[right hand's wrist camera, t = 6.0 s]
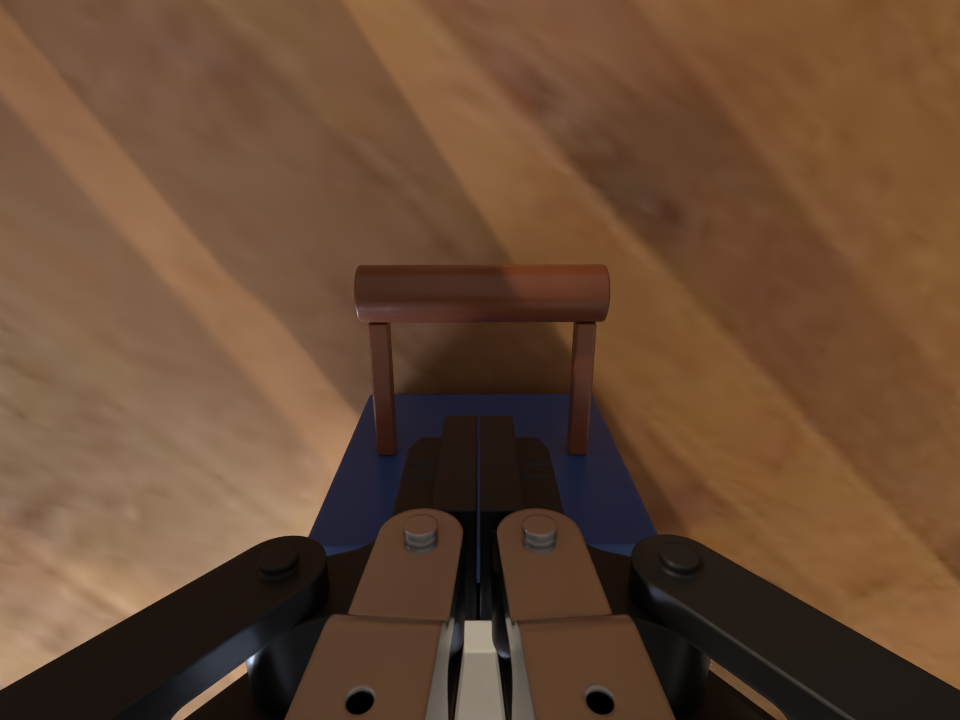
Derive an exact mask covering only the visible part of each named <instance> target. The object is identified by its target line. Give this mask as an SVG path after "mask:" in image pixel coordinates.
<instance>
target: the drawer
mask: <svg viewBox="0 0 960 720" xmlns="http://www.w3.org/2000/svg"><path fill="white" fill-rule="evenodd" d="M354 301H355V309H356V314H357V317H358V319H359V321H360V322H362V323H369V324H368V339H369V352H370V365H371V378H372V391H373V395H370V397H369V399H368V401H367V404H366V406H365V408H364V411H363V413H362V415H361V417H360V420H359V422H358V424H357V427H356V429H355V431H354V433H353V436H352V438H351V440H350V443H349V445H348V447H347V450H346V452H345V454H344V456H343V459H342V461H341V463H340V466H339V468H338V470H337V472H336V475H335V477H334V479H333V482H332V484H331V486H330V488H329V491H328V493H327V495H326V498H325V500H324V502H323V504H322V507H321V509H320V511H319V514H318V516H317V518H316V521H315V523H314V525H313V527H312V530H311V532H310V534H309V537H308V538H311V539H313V540H315V541H317V542H319V543H320V544H321V545H322V546H323V548H324V549H325V552H326V556H330V555H334V554H339V553H343V552H348V551H351V550H355V549H358V548H361V547H363V546H365V545H367V544H369V543H371V542H373V541H374V540H376V538H377V536H378V533H379V531H380V529H381V527H382V526H383V524H384V523H385V522H386V521H388V520H389V519H390V518H392V514H393V509H394V505H395V501H396V497H397V493H398V489H399V485H400V481H401V477H402V472H403V468H404V466H405V460H406V456H407V452H408V449H409V448H410V447H411V446H412V445H413V444H414V443H415V442H416V441H417V440H418V439H419V438H420V437H442V432H443V425H444V417H445V416H477V600H476V620H465V621H480V416H513V424H514V432H515V437H537V438H538V439H539V440H540V441H541V442H542V443H543V444H544V445H545V446H546V447H547V448H548V449H549V452H550V456H551V460H552V466H553V469H554V473H555V478H556V482H557V486H558V491H559V495H560V499H561V503H562V508H563V512H564V515H565V516H567V517H568V518H570V519H571V520H572V521H574V522H575V523H576V525H577V526H578V527H579V529H580V531H581V533H582V536H583V538H584V541H585V543H586V544H588V545H590V546H592V547H595V548H598V549H600V550H604V551H608V552H612V553H616V554H621V555H625V556H630V557H631V555H632V550H633V548H634V546H635V545H636V544H637V543H638V542H639V541H640V540H642V539H644V538H646V537H650V536H654V535H658V534H657V532H656V530H655V528H654V525H653V523H652V521H651V519H650V517H649V515H648V513H647V510H646V508H645V506H644V504H643V502H642V500H641V498H640V496H639V493H638V491H637V489H636V487H635V485H634V483H633V481H632V478H631V476H630V474H629V472H628V470H627V468H626V466H625V463H624V461H623V459H622V457H621V455H620V453H619V451H618V449H617V446H616V444H615V442H614V440H613V438H612V436H611V434H610V431H609V429H608V427H607V425H606V423H605V421H604V419H603V416H602V414H601V412H600V410H599V408H598V406H597V404H596V401H595V399H594V397H593V395H592V394H591V392H592V378H593V365H594V352H595V338H596V323H595V322H603V321H604V320H605V319H606V316H607V313H608V309H609V302H610V279H609V273H608V270H607V267H606V266H605V265H360V266H358V268H357V270H356V274H355V280H354ZM405 322H574V327H573V344H572V360H571V377H570V394H394V379H393V363H392V347H391V330H390V323H405Z"/></svg>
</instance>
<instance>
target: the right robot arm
mask: <svg viewBox="0 0 960 720" xmlns="http://www.w3.org/2000/svg"><path fill="white" fill-rule="evenodd" d="M476 600H477V416H445V417H444V425H443V432H442V437H420V438H419V439H418V440H417V441H416V442H415V443H414V444H413V445H412V446H411V447H410V448H409V449H408V452H407V456H406V460H405V466H404V468H403V472H402V477H401V481H400V485H399V489H398V493H397V497H396V501H395V505H394V509H393V514H392V518H390V519H389V520H388V521H386V522H385V523H384V524H383V526H382V527H381V529H380V531H379V533H378V536H377V538H376V540H374V541H373V542H371V543H369V544H367V545H365V546H363V547H361V548H358V549H355V550H351V551H348V552H343V553H339V554H334V555H330V556H326V552H325V549H324V548H323V546H322V545H321V544H320V543H319V542H317V541H315V540H313V539H311V538H308V537H303V536H283V537H278V538H274V539H270V540H267V541H265V542H262V543H260V544H258V545H256V546H254V547H252V548H250V549H249V550H247V551H245V552H243V553H242V554H240V555H238V556H236V557H235V558H233V559H231V560H229V561H228V562H226V563H224V564H222V565H220V566H219V567H217V568H215V569H213V570H212V571H210V572H208V573H206V574H205V575H203V576H201V577H199V578H198V579H196V580H194V581H192V582H191V583H189V584H187V585H185V586H183V587H182V588H180V589H178V590H176V591H175V592H173V593H171V594H169V595H168V596H166V597H164V598H162V599H161V600H159V601H157V602H155V603H154V604H152V605H150V606H148V607H146V608H145V609H143V610H141V611H139V612H138V613H136V614H134V615H132V616H131V617H129V618H127V619H125V620H124V621H122V622H120V623H118V624H117V625H115V626H113V627H111V628H109V629H108V630H106V631H104V632H102V633H101V634H99V635H97V636H95V637H94V638H92V639H90V640H88V641H87V642H85V643H83V644H81V645H80V646H78V647H76V648H74V649H72V650H71V651H69V652H67V653H65V654H64V655H62V656H60V657H58V658H57V659H55V660H53V661H51V662H50V663H48V664H46V665H44V666H43V667H41V668H39V669H37V670H35V671H34V672H32V673H30V674H28V675H27V676H25V677H23V678H21V679H20V680H18V681H16V682H14V683H13V684H11V685H9V686H7V687H6V688H4V689H2V690H0V720H171V718H172V717H173V716H174V715H175V714H176V713H177V712H178V711H179V710H180V709H181V708H182V707H183V706H184V705H186V704H187V703H188V702H190V701H191V700H192V699H194V698H195V697H197V696H198V695H199V694H201V693H202V692H203V691H205V690H206V689H208V688H209V687H210V686H212V685H213V684H214V683H216V682H217V681H219V680H220V679H221V678H223V677H224V676H226V675H227V674H228V673H230V672H231V671H232V670H234V669H235V668H237V667H238V666H239V665H241V664H242V663H243V662H245V661H246V666H247V671H248V672H247V673H246V674H244V675H243V676H242V677H240V678H239V679H238V680H236V681H235V682H234V683H232V684H231V685H230V686H228V687H227V688H225V689H224V690H223V691H221V692H220V693H219V694H217V695H216V696H215V697H213V698H212V699H211V700H209V701H208V702H207V703H205V704H204V705H203V706H201V707H200V708H199V709H197V710H196V711H194V712H193V713H192V714H190V715H189V716H188V717H186V718H185V719H184V720H458V713H459V704H460V696H461V687H462V679H463V671H464V658H465V656H464V630H465V620H476ZM480 621H491V623H492V641H493V644H494V647H495V649H496V656H495V658H496V671H497V679H498V687H499V696H500V704H501V713H502V720H776V719H775V718H774V717H772V716H771V715H770V714H768V713H767V712H765V711H764V710H763V709H761V708H760V707H759V706H757V705H756V704H755V703H753V702H752V701H751V700H749V699H748V698H747V697H745V696H744V695H743V694H741V693H740V692H739V691H737V690H736V689H735V688H733V687H732V686H730V685H729V684H728V683H726V682H725V681H724V680H722V679H721V678H720V677H718V676H717V675H716V674H714V673H713V672H712V671H710V670H709V665H710V660H711V659H712V660H714V661H715V662H717V663H718V664H719V665H721V666H722V667H723V668H725V669H726V670H728V671H729V672H730V673H732V674H733V675H734V676H736V677H737V678H739V679H740V680H741V681H743V682H744V683H746V684H747V685H748V686H750V687H751V688H752V689H754V690H755V691H757V692H758V693H759V694H761V695H762V696H763V697H765V698H766V699H768V700H769V701H770V702H772V703H773V704H774V705H775V706H776V707H777V708H778V709H780V710H781V712H782V713H783V714H784V715H785V716H786V718H787V719H788V720H960V690H958V689H956V688H954V687H953V686H951V685H949V684H947V683H946V682H944V681H942V680H940V679H939V678H937V677H935V676H933V675H932V674H930V673H928V672H926V671H925V670H923V669H921V668H919V667H917V666H916V665H914V664H912V663H910V662H909V661H907V660H905V659H903V658H902V657H900V656H898V655H896V654H895V653H893V652H891V651H889V650H888V649H886V648H884V647H882V646H880V645H879V644H877V643H875V642H873V641H872V640H870V639H868V638H866V637H865V636H863V635H861V634H859V633H858V632H856V631H854V630H852V629H851V628H849V627H847V626H845V625H843V624H842V623H840V622H838V621H836V620H835V619H833V618H831V617H829V616H828V615H826V614H824V613H822V612H821V611H819V610H817V609H815V608H814V607H812V606H810V605H808V604H806V603H805V602H803V601H801V600H799V599H798V598H796V597H794V596H792V595H791V594H789V593H787V592H785V591H784V590H782V589H780V588H778V587H777V586H775V585H773V584H771V583H769V582H768V581H766V580H764V579H762V578H761V577H759V576H757V575H755V574H754V573H752V572H750V571H748V570H747V569H745V568H743V567H741V566H740V565H738V564H736V563H734V562H732V561H731V560H729V559H727V558H725V557H724V556H722V555H720V554H718V553H717V552H715V551H713V550H711V549H710V548H708V547H706V546H704V545H702V544H700V543H698V542H696V541H694V540H691V539H688V538H685V537H681V536H676V535H654V536H650V537H646V538H644V539H642V540H640V541H639V542H638V543H637V544H636V545H635V546H634V548H633V550H632V555H631V557H630V556H625V555H621V554H616V553H612V552H608V551H604V550H600V549H598V548H595V547H592V546H590V545H588V544H586V543H585V541H584V538H583V536H582V533H581V531H580V529H579V527H578V526H577V525H576V523H575V522H574V521H572V520H571V519H570V518H568V517H567V516H565V515H564V512H563V508H562V503H561V499H560V495H559V491H558V486H557V482H556V478H555V473H554V469H553V466H552V460H551V456H550V452H549V449H548V448H547V447H546V446H545V445H544V444H543V443H542V442H541V441H540V440H539V439H538V438H537V437H515V432H514V424H513V416H480Z"/></svg>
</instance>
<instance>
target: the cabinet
mask: <svg viewBox="0 0 960 720" xmlns="http://www.w3.org/2000/svg"><path fill="white" fill-rule="evenodd" d="M464 656H465V658H464V671H463V679H462V687H461V696H460V704H459V713H458V720H502V713H501V704H500V696H499V687H498V679H497V671H496V658H495V656H496V649H495V647H494V644H493V641H492V623H491V621H465V630H464Z"/></svg>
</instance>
